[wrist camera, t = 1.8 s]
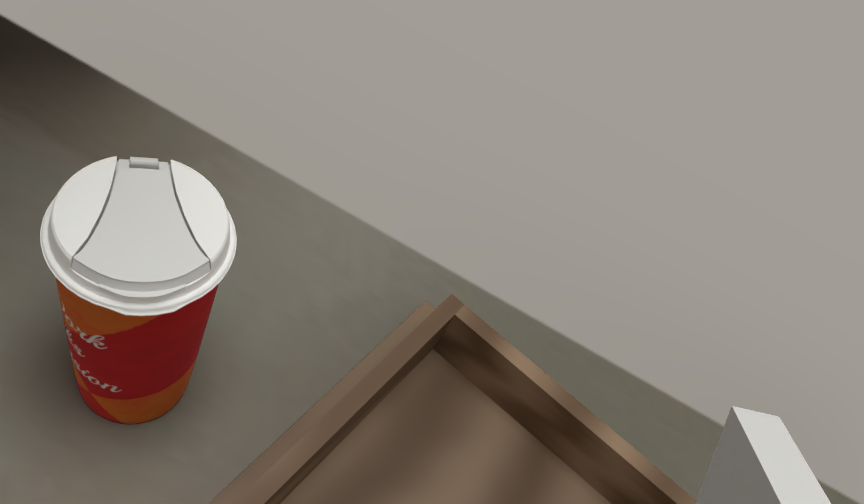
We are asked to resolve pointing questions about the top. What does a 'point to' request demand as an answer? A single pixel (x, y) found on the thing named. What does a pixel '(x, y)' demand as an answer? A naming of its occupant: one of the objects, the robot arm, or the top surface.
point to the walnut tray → (450, 431)
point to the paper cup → (136, 279)
